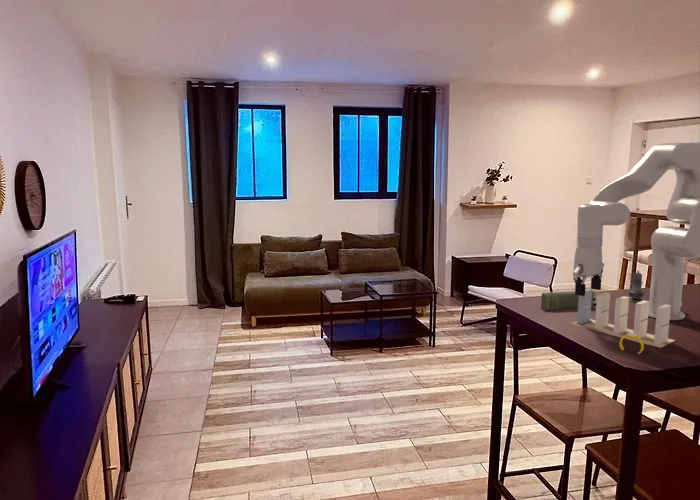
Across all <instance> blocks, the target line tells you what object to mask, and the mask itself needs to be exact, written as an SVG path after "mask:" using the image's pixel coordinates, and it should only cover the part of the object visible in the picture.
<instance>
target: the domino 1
mask: <svg viewBox="0 0 700 500" xmlns="http://www.w3.org/2000/svg"><path fill="white" fill-rule="evenodd" d="M592 290H593V289H591V288H585V296H580V295H579V302H578V307H577V323H579V324H583V323H586V322H589V321H590V319H591V313H592V306H591V300H592Z"/></svg>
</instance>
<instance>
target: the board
mask: <svg viewBox="0 0 700 500" xmlns="http://www.w3.org/2000/svg"><path fill="white" fill-rule="evenodd" d="M570 325H573V326H576V327H580V328H583V329H588V330H591V331H595V332H598V333H602V334H603V333H604V334H607V335H610V336H614V337H618V338H620V339H621V338H622V337H623V336H625V335H627V333H633V331H634V329H632V328H628V327H627V331H624V332H622V333H620V334H617V333H613V329H614V324H612V323H608V326H606V327H604V328H601V329H597V328H595V319H592V318H590V321H589V322H586V323H583V324H579V323H577V321H574V322H571V323H570ZM654 336H655V334H652V333H648V332H647V334H646V336H644V337H642V338H640V339H641V340H642V341H643V344H644V345H648V346H651V347H654V348H658V349H662V348H663V347H665V346H667V345H669V344H671V343H673V342H675V341H676V339H672V338H669V337H668V341H666V342H664V343H662V344H660V345H659V344H655V343H654ZM624 339H626V340H629V341H633V342H637V343H640V342H639V341H638V340H637V339H636V338H629V337H625V338H624Z"/></svg>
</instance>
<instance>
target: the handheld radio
mask: <svg viewBox="0 0 700 500" xmlns="http://www.w3.org/2000/svg"><path fill="white" fill-rule="evenodd" d="M596 293H597V290H595V289H592V300H591V307H596V303H597V302H595V301H597V298H596V297H595V296H597V295H596ZM578 302H579V295H576V294H575V290H574V291H572V290H571V291H570V290H569V291H553V292H552V291H551V292H550V291H549V292H541V303H540V309H541V310H542V311H557V310H559V309H562V308H563V309H564V308H578Z"/></svg>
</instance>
